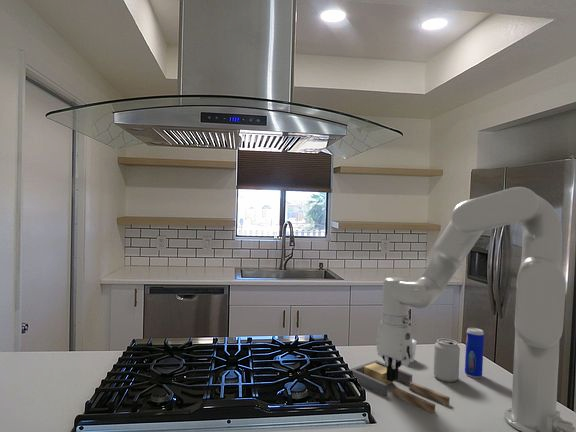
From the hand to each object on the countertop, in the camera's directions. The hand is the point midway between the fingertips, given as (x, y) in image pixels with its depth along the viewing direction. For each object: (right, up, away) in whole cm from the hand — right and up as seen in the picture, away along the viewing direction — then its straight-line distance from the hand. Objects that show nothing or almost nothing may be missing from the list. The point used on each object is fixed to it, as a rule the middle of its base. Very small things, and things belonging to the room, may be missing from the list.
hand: (392, 379), depth 120 cm
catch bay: (-3, -2, +3) cm, 5 cm away
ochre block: (-3, -2, +4) cm, 6 cm away
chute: (+6, -3, -8) cm, 10 cm away
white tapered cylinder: (+11, -2, +23) cm, 26 cm away
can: (+19, -3, +8) cm, 21 cm away
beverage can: (+30, -3, +11) cm, 32 cm away
